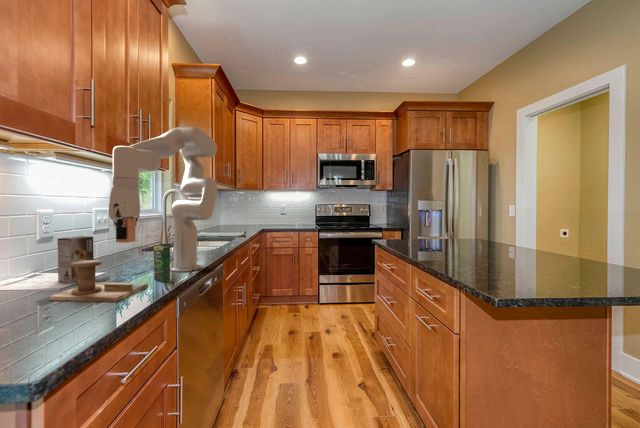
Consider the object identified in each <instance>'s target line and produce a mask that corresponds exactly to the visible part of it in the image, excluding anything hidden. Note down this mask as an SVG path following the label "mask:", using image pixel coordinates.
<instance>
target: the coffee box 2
mask: <svg viewBox="0 0 640 428" xmlns="http://www.w3.org/2000/svg"><path fill="white" fill-rule="evenodd" d="M170 267H171V247H170V246H164V245H155V246H153V273H154V274H153V277H154V279H153V280H155V281H158V282H161V283H169V282H171V270H170Z"/></svg>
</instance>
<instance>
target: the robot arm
mask: <svg viewBox="0 0 640 428" xmlns="http://www.w3.org/2000/svg"><path fill="white" fill-rule="evenodd" d="M217 151H218V146H217V143H216V141H215V140H214V139H213V138H212V137H211V135H209V134H207V133H206V132H205V131H204V130H203V129H200V128H199V127H196V126H177V127H174V128H171V129H169V130H168V131H165V132H164V133H162V134H161V135H158V136H156V137H153V138H150V139H146V140H143V141H139V142H137V143H133V144H131V145H129V146H128V145H127V146H126V145H117V146H116V145H115V146H114V147H113V149H112V187H111V189H110V195H109V202H108V203H109V204H108V216H109V217H110V220H111V221H112V222H113V223H114V227H115V240H116V239H127V227H125V225H126V218H135V227H136V226H137V222H138V220H139V219H140V214H141V203H140V201H141V200H140V192H139V190H140V172H147V173H148V172H155V171H156V170H158V169H159V168H160V167H161V164H162V159H167V158H171V157H172V156H174V155H175V154H177V153H178V152H180V155H181V157H182V159H183V162H184V165H185V167H184V168H185V169H184V173H183V177H182V181H181V185H180V193H181V195H182V196H183V197H186V198H179V199H177V200H175V201H174V202H173V203H172V205H171V214H172V218H173V265H170V272H178V273H180V272H182V273H183V272H193V271H192V270H194V271H197V269H198V270H200V269H201V265H200V264H198V262H199V257H198V228H197V226H196V224H195V223H194V221H208V220H210V219H211V218H212V216H213V213H214V209H215V203H216V199H217V196H218V195H217V194H218V184H217V182H216V180H215V179H214V178H213V177H209V176H205V170H206V169H205V167H204V165H203V163H202V162H201V160H200V159H199V158H212V157H214V156H216V154H217ZM121 220H122V221H121ZM199 268H200V269H199Z"/></svg>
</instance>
